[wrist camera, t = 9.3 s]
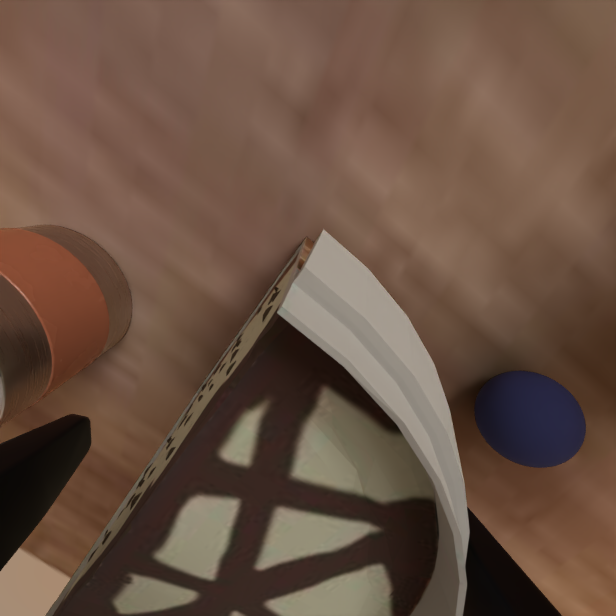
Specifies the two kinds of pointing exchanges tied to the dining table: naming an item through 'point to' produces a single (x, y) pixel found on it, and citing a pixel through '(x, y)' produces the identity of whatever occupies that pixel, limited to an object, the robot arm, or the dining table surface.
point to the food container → (297, 471)
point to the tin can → (54, 311)
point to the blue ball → (530, 419)
